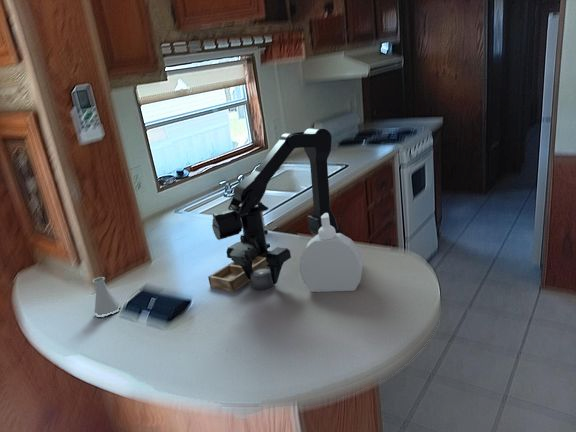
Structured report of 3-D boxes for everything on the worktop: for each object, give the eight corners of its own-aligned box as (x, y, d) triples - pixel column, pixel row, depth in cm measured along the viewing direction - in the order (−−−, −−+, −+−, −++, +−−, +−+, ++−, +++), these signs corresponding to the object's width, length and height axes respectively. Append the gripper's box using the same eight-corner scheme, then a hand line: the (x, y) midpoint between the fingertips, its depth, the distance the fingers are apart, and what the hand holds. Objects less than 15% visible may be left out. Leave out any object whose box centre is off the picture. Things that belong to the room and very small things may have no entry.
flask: (95, 321, 126) (85, 288, 123) (93, 311, 132) (83, 279, 129) (123, 312, 129) (113, 279, 126) (119, 302, 135) (110, 271, 132)
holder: (270, 266, 144) (268, 256, 143) (233, 292, 131) (231, 281, 130) (248, 263, 149) (246, 253, 148) (210, 287, 136) (208, 276, 135)
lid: (278, 283, 132) (276, 269, 131) (265, 292, 128) (262, 278, 127) (261, 279, 136) (259, 266, 135) (248, 289, 131) (245, 275, 130)
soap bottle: (365, 281, 125) (357, 210, 119) (363, 291, 120) (355, 217, 114) (306, 283, 129) (296, 215, 123) (302, 292, 124) (292, 221, 118)
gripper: (207, 236, 126) (218, 288, 131) (261, 243, 115) (271, 300, 120) (235, 222, 135) (244, 272, 139) (287, 227, 123) (296, 281, 128)
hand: (262, 281), depth 131 cm, fingers open, 9 cm apart
